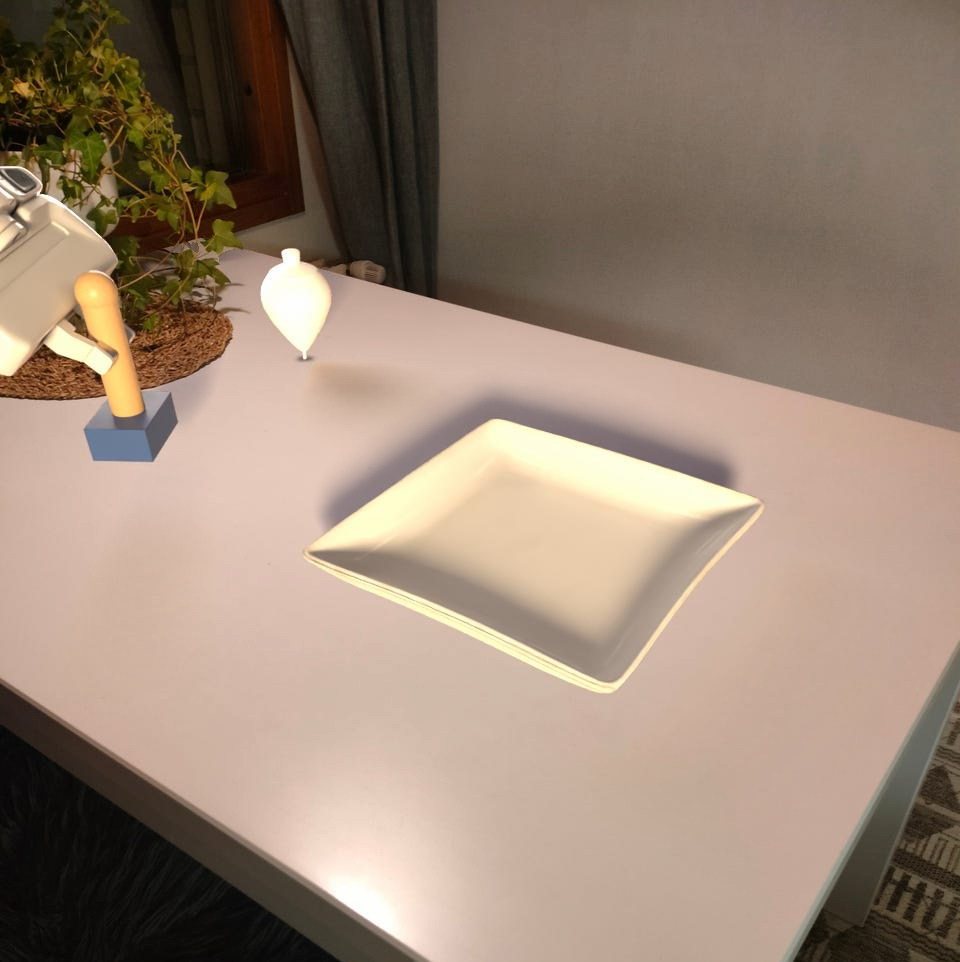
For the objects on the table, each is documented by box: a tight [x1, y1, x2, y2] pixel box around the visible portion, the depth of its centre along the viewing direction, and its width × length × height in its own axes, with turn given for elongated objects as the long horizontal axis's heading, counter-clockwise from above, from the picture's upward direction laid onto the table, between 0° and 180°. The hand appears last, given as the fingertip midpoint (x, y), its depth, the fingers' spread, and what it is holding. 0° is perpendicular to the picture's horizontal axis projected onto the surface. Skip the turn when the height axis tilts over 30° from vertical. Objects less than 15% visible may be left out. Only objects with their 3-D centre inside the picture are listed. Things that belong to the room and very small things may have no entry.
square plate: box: [301, 417, 766, 694], centre depth 73 cm, size 27×27×4 cm
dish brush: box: [74, 270, 179, 463], centre depth 76 cm, size 5×7×15 cm
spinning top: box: [260, 247, 333, 360], centre depth 101 cm, size 8×8×12 cm
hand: (120, 354), depth 75 cm, fingers closed on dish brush, 3 cm apart
